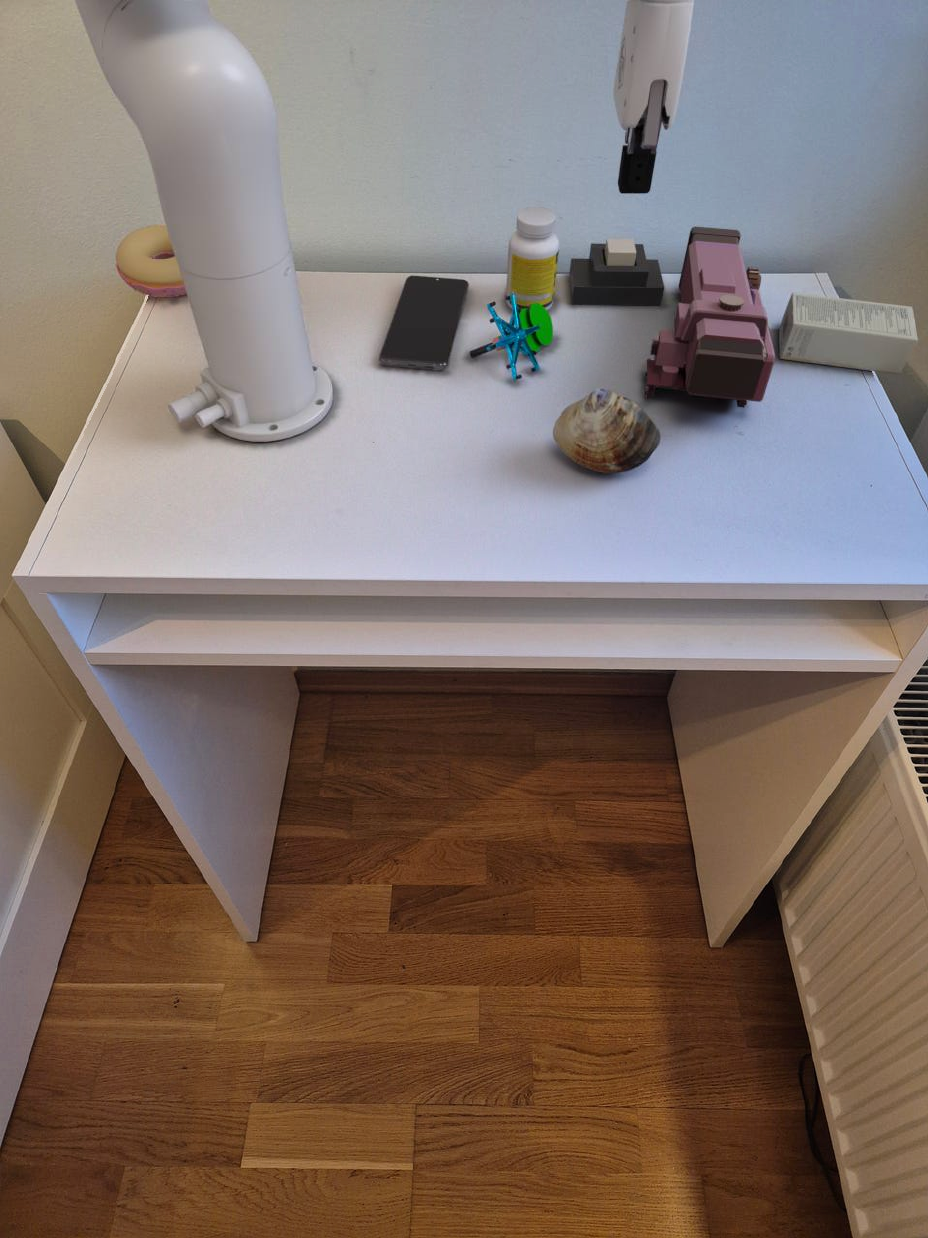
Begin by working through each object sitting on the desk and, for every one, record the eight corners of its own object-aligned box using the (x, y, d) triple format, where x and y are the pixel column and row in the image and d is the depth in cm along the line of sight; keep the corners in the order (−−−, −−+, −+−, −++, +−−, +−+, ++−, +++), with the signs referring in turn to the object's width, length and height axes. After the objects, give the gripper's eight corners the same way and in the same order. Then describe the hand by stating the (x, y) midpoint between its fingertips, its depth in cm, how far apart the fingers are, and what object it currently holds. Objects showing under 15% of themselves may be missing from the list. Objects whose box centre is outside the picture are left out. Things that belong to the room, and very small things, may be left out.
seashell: (541, 473, 73) (549, 401, 66) (559, 434, 76) (567, 363, 69) (643, 498, 71) (661, 427, 64) (657, 458, 74) (675, 386, 67)
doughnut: (94, 233, 89) (106, 268, 93) (135, 283, 84) (145, 317, 88) (185, 207, 93) (193, 241, 97) (228, 253, 89) (235, 287, 92)
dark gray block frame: (654, 277, 93) (661, 243, 90) (660, 305, 89) (668, 271, 86) (569, 276, 93) (572, 242, 90) (571, 304, 89) (575, 270, 86)
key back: (631, 253, 89) (633, 238, 88) (633, 267, 87) (636, 252, 86) (604, 253, 89) (606, 238, 88) (606, 267, 87) (608, 252, 86)
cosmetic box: (777, 359, 83) (898, 378, 81) (792, 321, 79) (919, 340, 78) (778, 325, 87) (894, 343, 85) (792, 287, 83) (914, 305, 81)
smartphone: (377, 359, 81) (407, 273, 91) (378, 367, 82) (407, 282, 92) (447, 365, 81) (470, 278, 90) (447, 374, 82) (470, 287, 91)
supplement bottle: (560, 312, 88) (570, 224, 81) (514, 319, 88) (519, 231, 80) (544, 286, 92) (551, 199, 84) (499, 293, 91) (502, 206, 83)
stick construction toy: (521, 381, 77) (492, 301, 75) (465, 401, 81) (436, 326, 79) (572, 351, 86) (547, 279, 83) (519, 371, 90) (494, 302, 88)
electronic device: (739, 315, 92) (764, 224, 85) (763, 441, 73) (798, 337, 66) (644, 306, 93) (661, 215, 86) (643, 428, 74) (665, 324, 67)
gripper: (615, -58, 72) (591, 157, 87) (631, -3, 63) (602, 226, 78) (698, -59, 72) (660, 156, 87) (726, -4, 63) (679, 226, 78)
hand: (633, 189), depth 82 cm, fingers closed
